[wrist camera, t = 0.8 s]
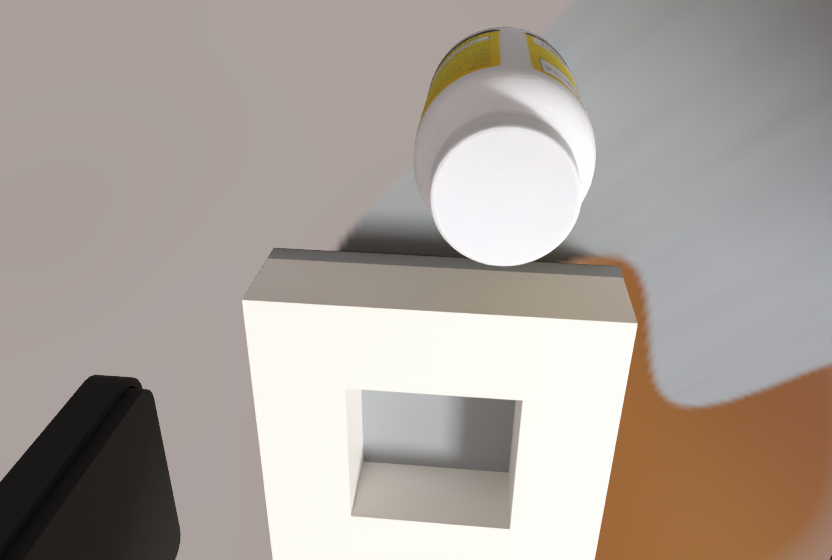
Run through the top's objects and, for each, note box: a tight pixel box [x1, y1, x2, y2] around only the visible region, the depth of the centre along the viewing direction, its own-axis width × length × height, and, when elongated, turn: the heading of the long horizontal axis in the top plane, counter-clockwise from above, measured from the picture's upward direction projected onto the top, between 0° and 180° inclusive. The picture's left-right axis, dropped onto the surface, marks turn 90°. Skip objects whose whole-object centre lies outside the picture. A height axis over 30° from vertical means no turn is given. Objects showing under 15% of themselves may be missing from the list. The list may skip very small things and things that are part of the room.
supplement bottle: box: [414, 27, 596, 266], centre depth 23 cm, size 5×5×10 cm
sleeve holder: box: [242, 248, 638, 560], centre depth 32 cm, size 15×15×4 cm
